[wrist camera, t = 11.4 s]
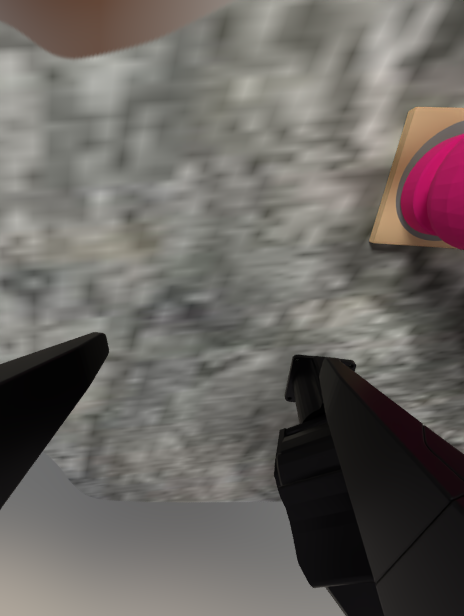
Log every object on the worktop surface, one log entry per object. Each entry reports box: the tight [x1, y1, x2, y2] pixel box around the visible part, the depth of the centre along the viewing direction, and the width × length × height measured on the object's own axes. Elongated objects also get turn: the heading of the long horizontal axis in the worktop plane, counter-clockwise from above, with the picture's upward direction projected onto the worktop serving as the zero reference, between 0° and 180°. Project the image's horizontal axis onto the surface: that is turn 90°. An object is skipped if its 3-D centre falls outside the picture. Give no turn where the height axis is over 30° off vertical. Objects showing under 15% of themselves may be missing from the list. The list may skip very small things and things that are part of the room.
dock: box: [369, 107, 464, 249], centre depth 16 cm, size 8×8×1 cm
